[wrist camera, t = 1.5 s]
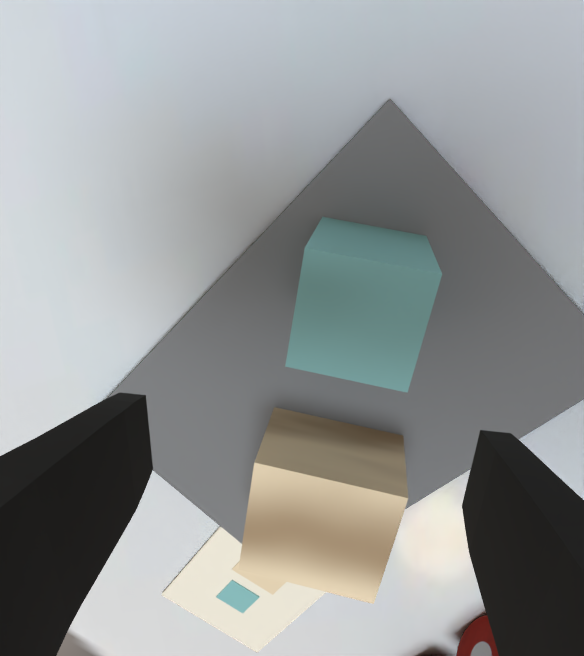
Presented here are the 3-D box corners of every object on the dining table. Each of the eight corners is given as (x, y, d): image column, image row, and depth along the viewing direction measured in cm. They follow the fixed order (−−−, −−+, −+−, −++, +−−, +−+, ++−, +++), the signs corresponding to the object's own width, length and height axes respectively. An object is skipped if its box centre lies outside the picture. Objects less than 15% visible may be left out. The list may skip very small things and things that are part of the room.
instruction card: (245, 496, 25) (245, 499, 25) (354, 565, 26) (354, 568, 26) (162, 592, 29) (161, 596, 29) (257, 650, 30) (256, 653, 30)
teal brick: (322, 216, 19) (304, 247, 14) (426, 235, 18) (442, 273, 14) (305, 311, 20) (285, 366, 16) (400, 330, 20) (407, 392, 15)
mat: (389, 99, 17) (389, 98, 17) (627, 364, 19) (632, 369, 19) (93, 412, 25) (89, 417, 24) (288, 575, 27) (287, 581, 27)
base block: (274, 407, 22) (254, 462, 19) (403, 435, 22) (408, 498, 18) (258, 504, 25) (238, 569, 21) (374, 531, 24) (373, 603, 21)
